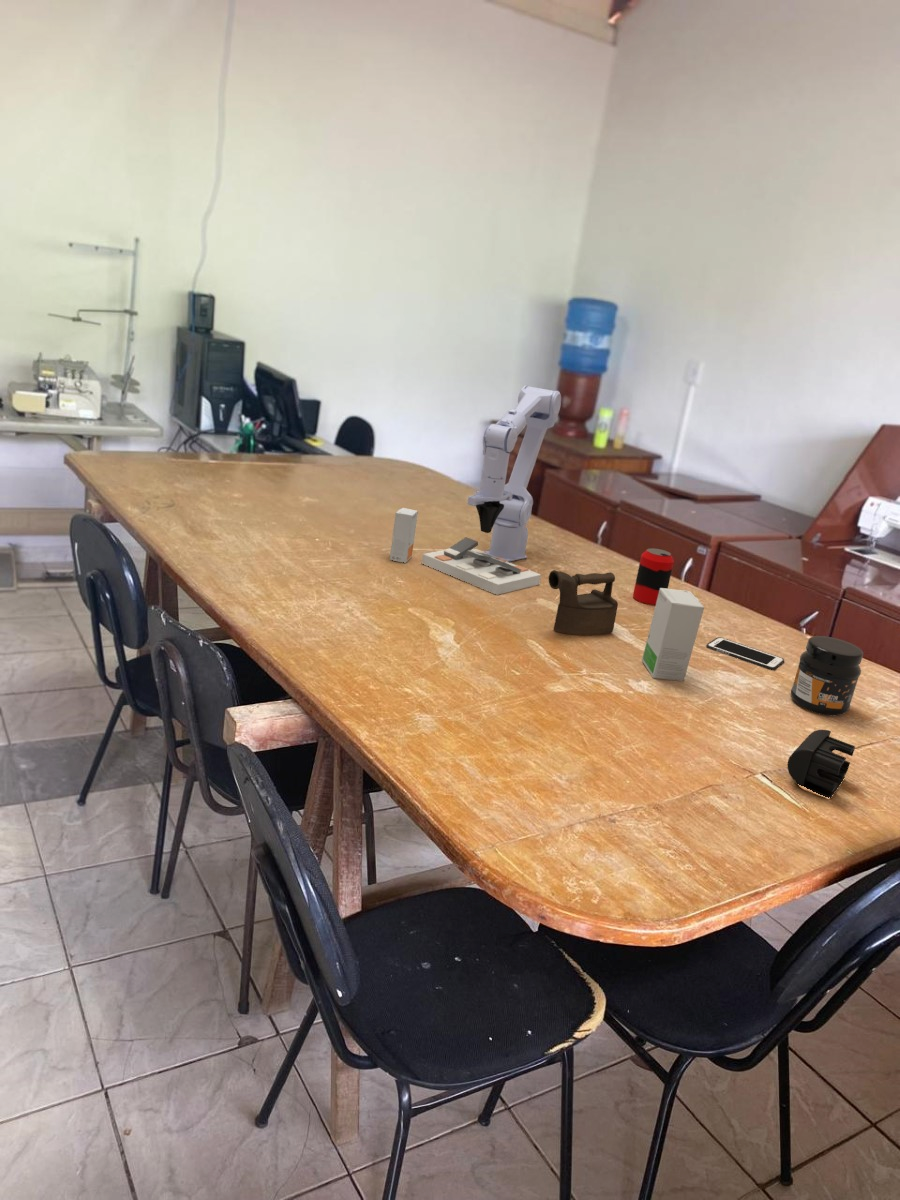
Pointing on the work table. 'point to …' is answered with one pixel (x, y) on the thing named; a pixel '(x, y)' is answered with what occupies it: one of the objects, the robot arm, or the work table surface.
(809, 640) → the supplement container
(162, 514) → the work table surface
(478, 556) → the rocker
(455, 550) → the block
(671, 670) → the skincare box
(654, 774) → the work table surface
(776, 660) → the cell phone
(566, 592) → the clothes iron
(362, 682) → the work table surface
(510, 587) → the console
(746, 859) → the work table surface
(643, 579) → the soda can
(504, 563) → the block
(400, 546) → the skincare box
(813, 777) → the end cap
